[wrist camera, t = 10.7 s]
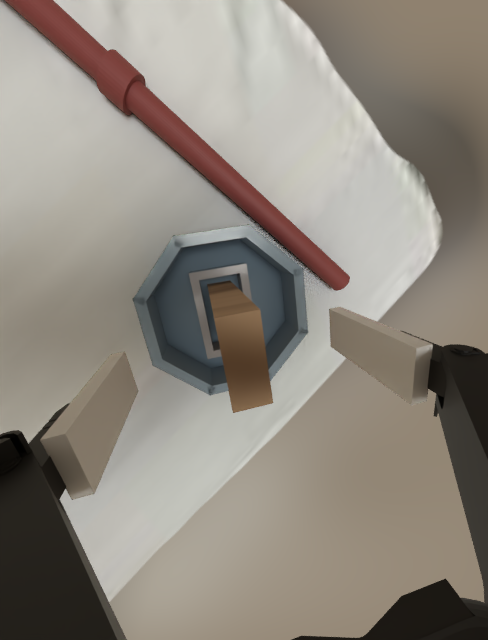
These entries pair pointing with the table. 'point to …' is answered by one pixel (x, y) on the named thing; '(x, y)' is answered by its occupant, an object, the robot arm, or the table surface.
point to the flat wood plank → (241, 346)
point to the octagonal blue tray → (195, 306)
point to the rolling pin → (171, 129)
